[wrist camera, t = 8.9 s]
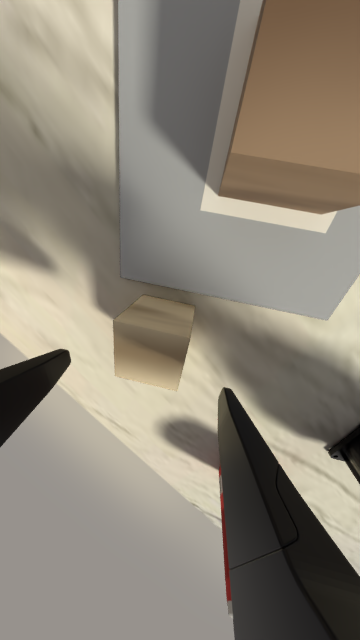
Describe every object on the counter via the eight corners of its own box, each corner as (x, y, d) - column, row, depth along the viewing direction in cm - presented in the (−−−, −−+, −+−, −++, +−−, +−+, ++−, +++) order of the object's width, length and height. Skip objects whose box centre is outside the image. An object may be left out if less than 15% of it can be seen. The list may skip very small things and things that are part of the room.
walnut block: (321, 214, 9) (438, 186, 4) (217, 196, 9) (230, 152, 5) (411, 34, 6) (953, -512, 2) (258, 15, 6) (383, -499, 2)
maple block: (185, 347, 15) (177, 391, 11) (140, 337, 15) (115, 376, 11) (195, 305, 13) (190, 337, 9) (143, 294, 13) (113, 320, 9)
